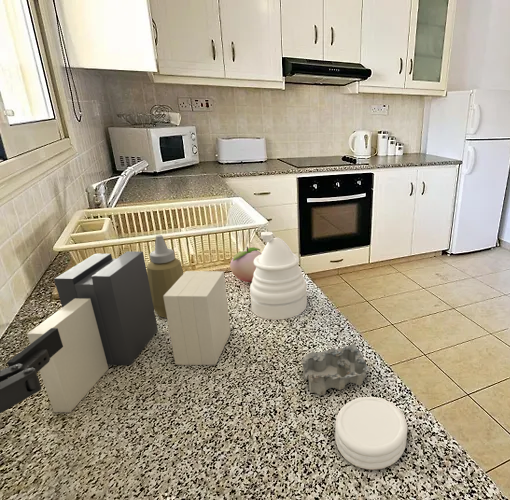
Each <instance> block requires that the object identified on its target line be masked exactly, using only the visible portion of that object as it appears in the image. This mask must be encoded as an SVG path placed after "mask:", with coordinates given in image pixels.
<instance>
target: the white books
mask: <svg viewBox="0 0 510 500" xmlns="http://www.w3.org/2000/svg"><path fill="white" fill-rule="evenodd" d="M183 273H184V274H183V275H182V276H181V277H180V278H179V279H178V280H177V282H176V283H175V284H174V285H173V286H172V287H171V288H170V289H169V290H168V291H167V292H166V294H165V295H164V296H163V298H164V303H165V309H166V314H167V318H166V319H167V325H168V331H169V336H170V343H171V347H172V353H173V359H174V364H175V366H181V365H182V366H216V365H217V363H218V361H219V359H220V357H221V355H222V353H223V350H224V348H225V346H226V344H227V342H228V340H229V337H230V336H231V333H232V332H231V324H230V323H231V322H230V315H229V313H230V312H229V306H228V305H229V304H228V295H227V286H226V278H225V277H226V276H225V271H223V270H221V271H219V270H218V271H217V270H215V271H214V270H186V271H185V272H183Z"/></svg>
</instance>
